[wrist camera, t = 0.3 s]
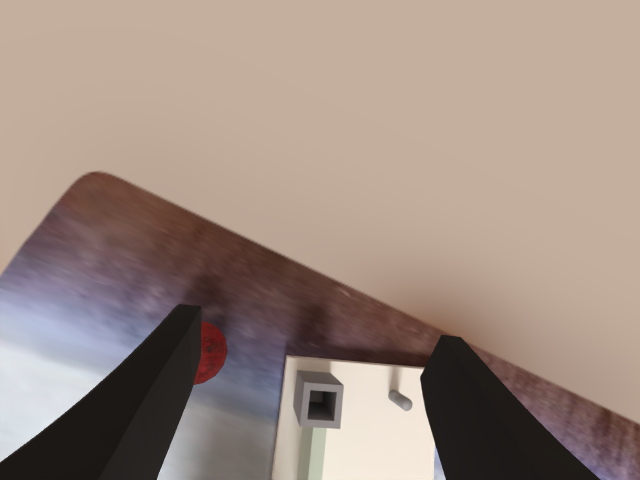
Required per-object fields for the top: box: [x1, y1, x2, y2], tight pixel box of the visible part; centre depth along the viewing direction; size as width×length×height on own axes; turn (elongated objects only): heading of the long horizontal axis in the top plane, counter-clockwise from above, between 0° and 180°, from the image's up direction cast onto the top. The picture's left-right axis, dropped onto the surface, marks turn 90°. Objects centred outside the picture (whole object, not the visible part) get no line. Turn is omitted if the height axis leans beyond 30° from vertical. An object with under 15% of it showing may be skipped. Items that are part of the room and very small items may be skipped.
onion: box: [193, 322, 227, 385], centre depth 32 cm, size 6×6×8 cm
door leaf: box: [293, 370, 344, 480], centre depth 32 cm, size 13×4×6 cm, turn 174°
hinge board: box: [271, 355, 435, 480], centre depth 35 cm, size 18×17×5 cm
